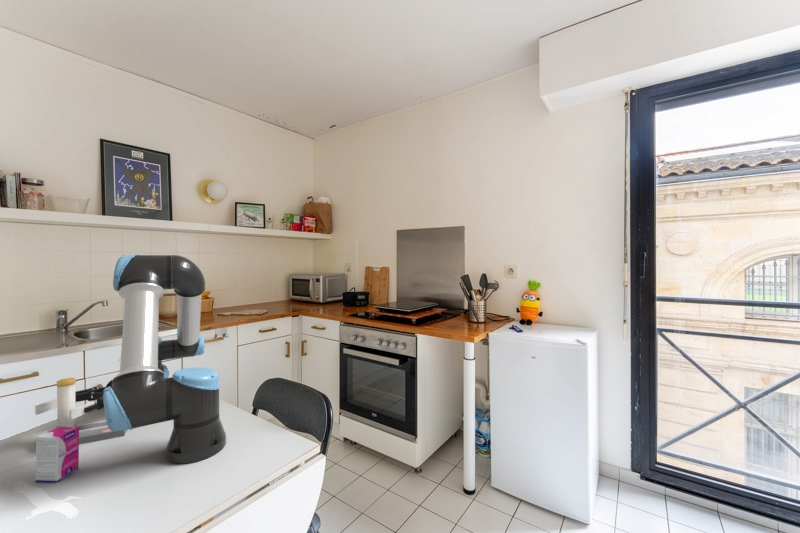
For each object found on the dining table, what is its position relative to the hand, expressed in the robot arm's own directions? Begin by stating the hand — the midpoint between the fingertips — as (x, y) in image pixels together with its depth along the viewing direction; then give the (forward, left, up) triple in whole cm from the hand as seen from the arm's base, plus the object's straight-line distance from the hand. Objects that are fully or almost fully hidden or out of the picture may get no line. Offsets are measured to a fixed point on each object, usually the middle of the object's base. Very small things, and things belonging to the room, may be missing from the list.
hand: (52, 412), depth 101 cm
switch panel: (+3, -7, -10) cm, 13 cm away
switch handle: (+3, -2, -8) cm, 8 cm away
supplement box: (-19, -7, -10) cm, 23 cm away
